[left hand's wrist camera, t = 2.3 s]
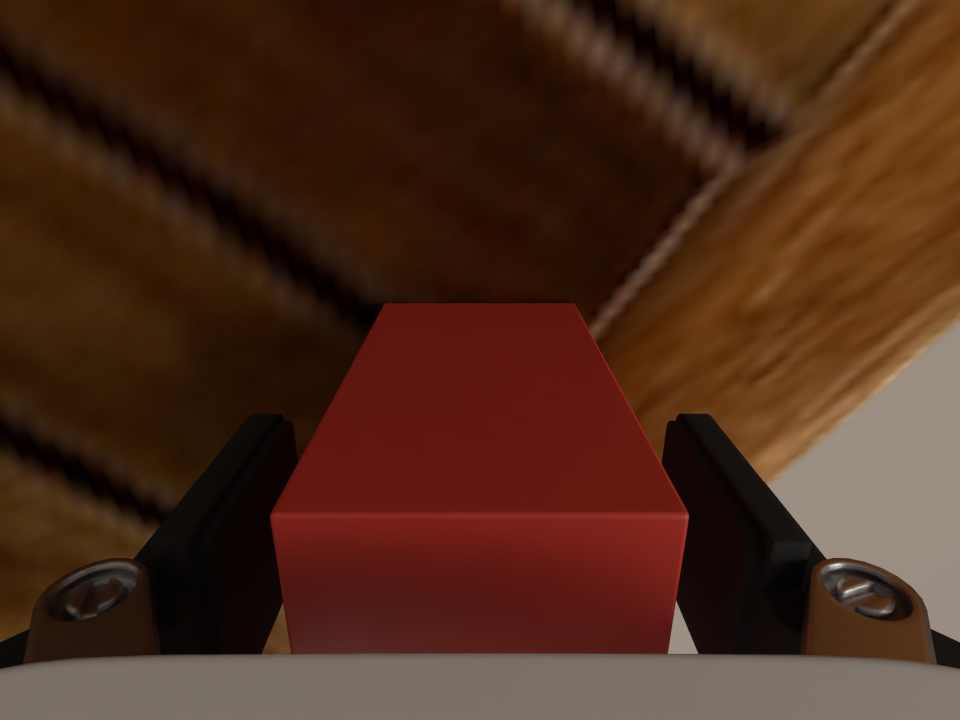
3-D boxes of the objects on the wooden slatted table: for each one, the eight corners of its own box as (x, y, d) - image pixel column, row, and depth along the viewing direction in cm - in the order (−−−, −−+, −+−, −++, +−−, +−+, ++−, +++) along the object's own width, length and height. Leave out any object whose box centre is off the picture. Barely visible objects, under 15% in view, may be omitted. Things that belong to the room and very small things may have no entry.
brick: (563, 489, 16) (642, 828, 8) (395, 489, 16) (316, 828, 8) (575, 302, 14) (692, 513, 6) (383, 302, 14) (267, 514, 6)
